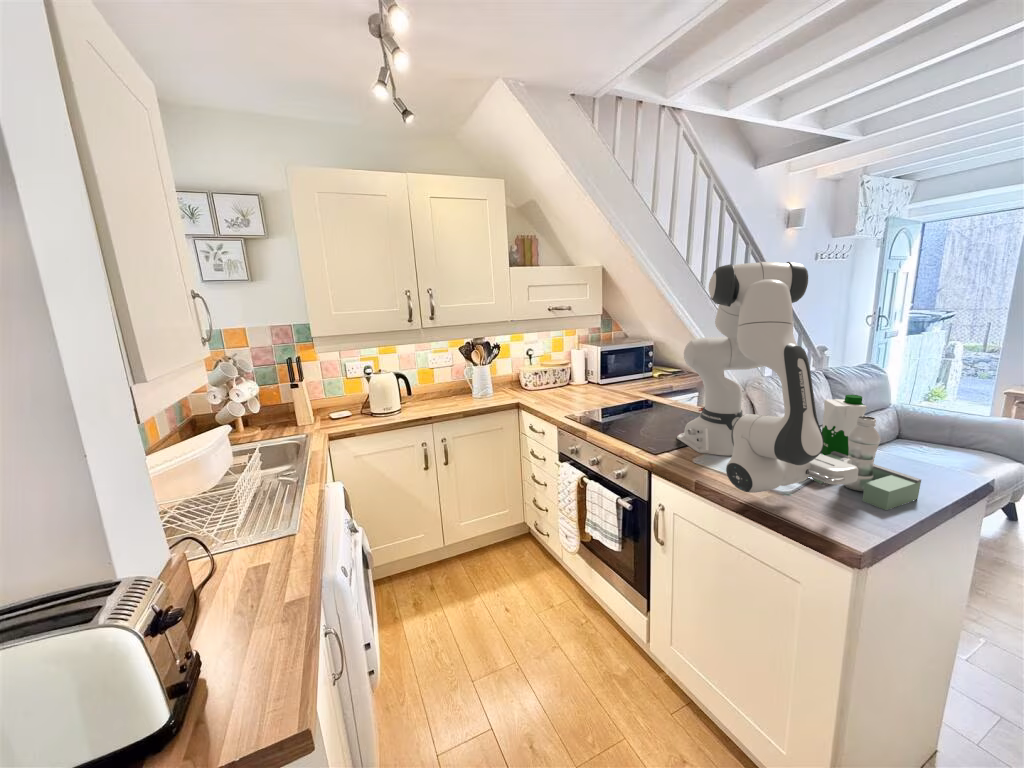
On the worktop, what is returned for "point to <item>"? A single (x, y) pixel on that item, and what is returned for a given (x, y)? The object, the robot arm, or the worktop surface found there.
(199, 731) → the worktop surface
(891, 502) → the green u-shaped bracket
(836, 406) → the milk carton
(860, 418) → the plastic bottle
